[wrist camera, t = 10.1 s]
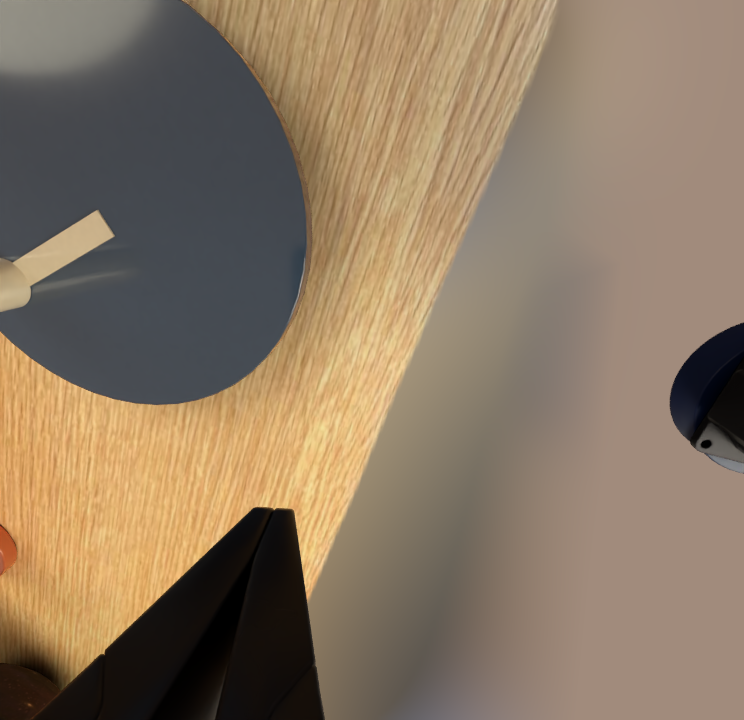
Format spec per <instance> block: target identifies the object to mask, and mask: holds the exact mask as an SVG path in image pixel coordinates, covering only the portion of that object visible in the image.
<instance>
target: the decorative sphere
mask: <svg viewBox="0 0 744 720" xmlns="http://www.w3.org/2000/svg"><path fill="white" fill-rule="evenodd" d="M60 692H61V691H60V690H59V689H58V688H57V687H56V686H55V685H54V684H53V683H52V682H51V681H50V680H49V679H47V678H46V677H45V676H43V675H41V674H39V673H38V672H36V671H33V670H30V669H27V668H24V667H21V666H17V665H11V664H5V663H0V720H30V719H31V718H32V717H33V716H35V715H36V714H37V713H38V712H39V711H40V710H41V709H42V708H44V707H45V706H46V705H47V704H48V703H49V702H50V701H51V700H52V699H53V698H54V697H55V696H57V695H58V694H59V693H60Z"/></svg>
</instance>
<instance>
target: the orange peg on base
mask: <svg viewBox="0 0 744 720" xmlns="http://www.w3.org/2000/svg"><path fill="white" fill-rule="evenodd" d="M16 559H17V549H16V546H15V543H14V542H13V540H12V538H11V537H10V535H9V534H8V533H7V532H6V531H5V530H4V529H3V528H2V527H1V526H0V576H1V575H2V574H4V573H5V572H6V571H7V570H8V569H9V568H10V567H12V566H13V564H14V563H15V561H16Z"/></svg>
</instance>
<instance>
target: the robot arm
mask: <svg viewBox="0 0 744 720" xmlns="http://www.w3.org/2000/svg"><path fill="white" fill-rule="evenodd" d="M704 440H706V441H705V442H704V443H702V442H703V441H704ZM690 443H691V445H692V446H693V447H694V448H695V449H697V450H698V451H700V452H702V453H706V454H710V455H714V456H718V457H722V458H726V459H729V460H733V461H737V462H741V463H744V357H743V359H742V360H741V362H740V363H739V365H738V366H737V368H736V369H735V371H734V372H733V374H732V376H731V377H730V379H729V380H728V382H727V383H726V385H725V386H724V388H723V389H722V391H721V392H720V394H719V396H718V397H717V399H716V400H715V402H714V403H713V405H712V406H711V408H710V409H709V411H708V412H707V414H706V416H705V417H704V419H703V420H702V422H701V423H700V425H699V426H698V428H697V429H696V431H695V432H694V434H693V436H692V437H691V439H690ZM701 443H702V444H701ZM30 720H325V717H324V712H323V706H322V701H321V695H320V689H319V681H318V674H317V668H316V666H315V655H314V648H313V641H312V634H311V627H310V620H309V613H308V606H307V599H306V592H305V585H304V578H303V571H302V564H301V557H300V550H299V543H298V536H297V529H296V522H295V515H294V511H293V509H285V508H276V509H275V510H274V509H273V508H268V507H255V508H253V509H252V510H251V511H250V512H249V513H248V514H247V515H246V516H245V517H243V518H242V519H241V520H240V521H239V522H238V523H237V524H236V525H235V526H234V527H233V528H232V529H231V530H230V531H229V532H228V533H227V534H226V535H225V536H224V537H223V538H222V539H220V540H219V541H218V542H217V543H216V544H215V545H214V546H213V547H212V548H211V549H210V550H209V551H208V552H207V553H206V554H205V555H204V556H203V557H202V558H201V559H200V560H199V561H198V562H196V563H195V564H194V565H193V566H192V567H191V568H190V569H189V570H188V571H187V572H186V573H185V574H184V575H183V576H182V577H181V578H180V579H179V580H178V581H177V582H176V583H175V584H173V585H172V586H171V587H170V588H169V589H168V590H167V591H166V592H165V593H164V594H163V595H162V596H161V597H160V598H159V599H158V600H157V601H156V602H155V603H154V604H153V605H152V606H151V607H149V608H148V609H147V610H146V611H145V612H144V613H143V614H142V615H141V616H140V617H139V618H138V619H137V620H136V621H135V622H134V623H133V624H132V625H131V626H130V627H129V628H128V629H126V630H125V631H124V632H123V633H122V634H121V635H120V636H119V637H118V638H117V639H116V640H115V641H114V642H113V643H112V644H111V645H110V646H109V647H108V648H107V649H106V650H105V655H104V654H100V655H99V656H98V657H97V658H96V659H95V660H94V661H93V662H92V663H91V664H90V665H89V666H88V667H87V668H85V669H84V670H83V671H82V672H81V673H80V674H79V675H78V676H77V677H76V678H75V679H74V680H73V681H72V682H71V683H70V684H68V685H67V686H66V687H65V688H64V689H63V690H62V691H61V692H60V693H59V694H58V695H57V696H55V697H54V698H53V699H52V700H51V701H50V702H49V703H48V704H47V705H46V706H45V707H44V708H42V709H41V710H40V711H39V712H38V713H37V714H36V715H35V716H33V717H32V718H31V719H30Z"/></svg>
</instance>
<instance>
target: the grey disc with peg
mask: <svg viewBox="0 0 744 720" xmlns="http://www.w3.org/2000/svg"><path fill="white" fill-rule="evenodd" d="M311 251H312V218H311V208H310V202H309V195H308V188H307V183H306V179H305V176H304V172H303V168H302V165H301V161H300V157H299V154H298V151H297V149H296V146H295V144H294V141H293V139H292V136H291V134H290V131H289V129H288V126H287V124H286V122H285V120H284V118H283V116H282V115H281V113H280V111H279V109H278V107H277V105H276V103H275V101H274V100H273V98H272V96H271V94H270V93H269V91H268V90H267V88H266V87H265V85H264V84H263V83H262V81H261V80H260V78H259V77H258V75H257V74H256V72H255V71H254V70H253V68H252V67H251V65H250V64H249V63H248V62H247V61H246V60H245V59H244V57H243V56H242V55H241V54H240V53H239V52H238V51H237V49H236V48H235V47H234V46H233V45H232V44H231V43H230V42H229V40H228V39H226V38H225V37H224V36H223V35H222V34H221V33H220V32H219V31H218V30H217V29H216V28H214V27H213V26H212V25H211V24H210V23H209V22H208V21H206V20H205V19H204V18H203V17H202V16H201V15H200V14H199V13H197V12H196V11H195V10H194V9H193V8H192V7H191V6H189V5H188V4H186V3H185V2H183V1H182V0H0V332H1V333H2V334H3V335H4V336H6V337H7V338H8V339H9V340H10V341H11V342H12V343H13V344H14V345H15V346H17V347H18V348H19V349H20V350H21V351H23V352H24V353H25V354H26V355H28V356H29V357H30V358H31V359H33V360H34V361H36V362H37V363H39V364H40V365H42V366H43V367H45V368H46V369H47V370H49V371H50V372H52V373H54V374H56V375H58V376H59V377H61V378H63V379H65V380H67V381H68V382H70V383H72V384H74V385H77V386H79V387H81V388H84V389H86V390H88V391H91V392H93V393H96V394H99V395H103V396H106V397H109V398H112V399H116V400H121V401H126V402H132V403H138V404H152V405H164V404H179V403H184V402H190V401H195V400H199V399H202V398H205V397H208V396H211V395H214V394H217V393H219V392H221V391H223V390H225V389H227V388H229V387H231V386H233V385H235V384H236V383H238V382H239V381H240V380H242V379H243V378H244V377H246V376H247V375H249V374H250V373H251V372H253V371H254V370H255V369H256V368H257V367H258V366H259V365H260V364H261V363H262V362H263V361H264V360H265V359H266V358H267V357H268V356H269V355H270V354H271V353H272V352H273V351H274V349H275V348H276V347H277V345H278V344H279V343H280V341H281V340H282V339H283V337H284V336H285V335H286V333H287V331H288V329H289V327H290V326H291V324H292V322H293V320H294V318H295V316H296V314H297V312H298V309H299V306H300V303H301V301H302V298H303V295H304V293H305V288H306V284H307V279H308V275H309V270H310V262H311Z"/></svg>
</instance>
